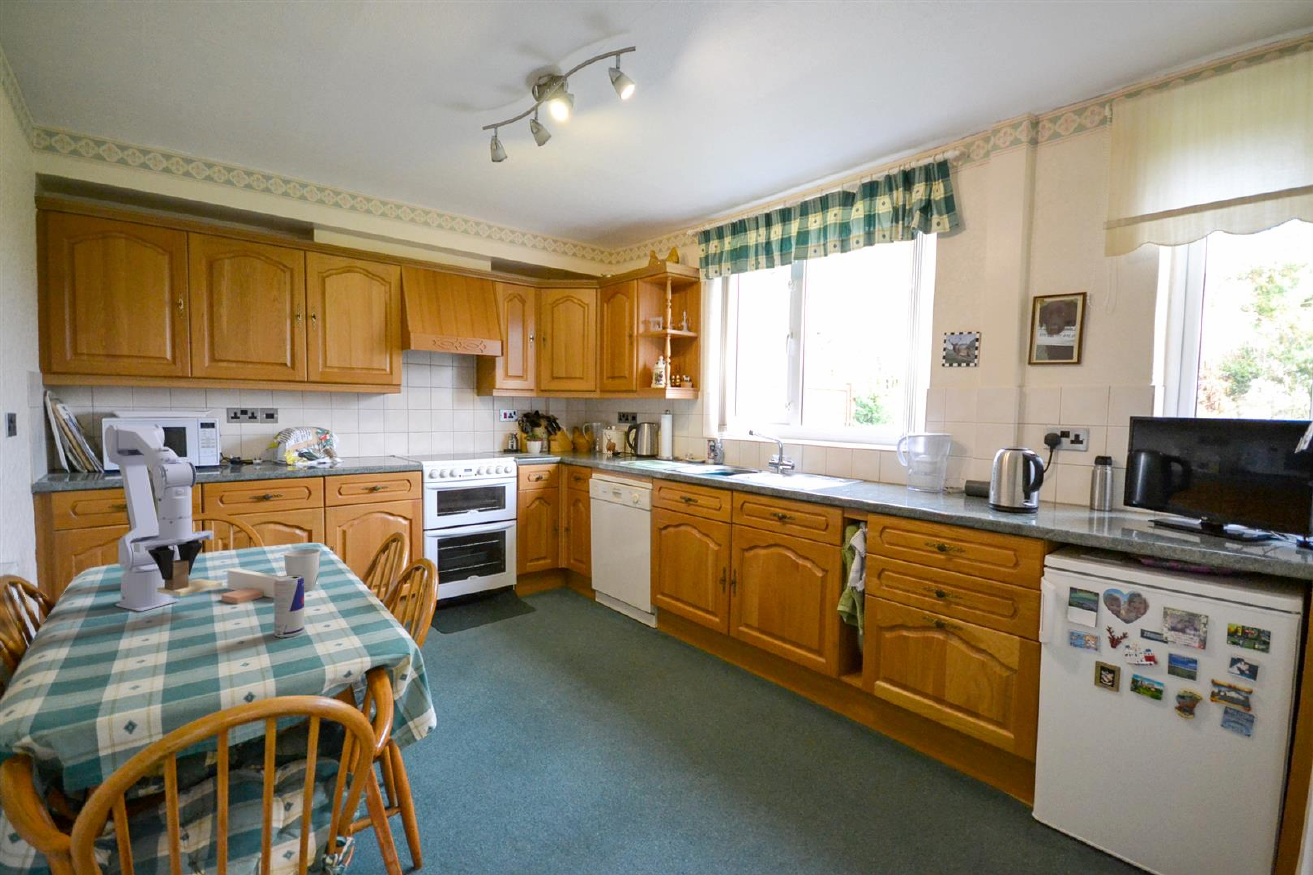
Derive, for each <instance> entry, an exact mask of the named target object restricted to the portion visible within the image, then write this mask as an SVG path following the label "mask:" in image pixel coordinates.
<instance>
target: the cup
mask: <svg viewBox="0 0 1313 875" xmlns="http://www.w3.org/2000/svg"><path fill="white" fill-rule="evenodd" d="M283 555H284V567H285V575H292V574H299V575H303V578H304V593H305V592H306V593H307V592H310V591H312V590H314V589H315V588H316V583H317V581H318V578H319V572H320V563H321V549H320V548H313V547H312V548H310V547H309V548H299V549H292V550H288V551H286V552H285V553H284V554H283Z"/></svg>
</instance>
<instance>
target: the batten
mask: <svg viewBox="0 0 1313 875" xmlns="http://www.w3.org/2000/svg"><path fill="white" fill-rule="evenodd" d="M226 571H227V574H226V575H227V590H231V591H236V590H240V589H244V588H251V589H256V590H261V591H263V597H267V598H270V599H274V582H275V579H276V578H278V577H280V576H281V575H275V574H270V573H264V572H258V571H254V570H248V569H247V570H246V569H240V568H231V569H228V570H226Z"/></svg>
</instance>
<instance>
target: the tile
mask: <svg viewBox="0 0 1313 875" xmlns="http://www.w3.org/2000/svg"><path fill="white" fill-rule="evenodd" d="M263 597H264V596H263V591H261V590H256V589H251V588H244V589H240V590H236V591H235V590H232V591H230V592H226V593H222V594H221V601H222V602H225V603H230V604H235V605H240V604H243V603H247V602H250V601H254V600H257V599H260V598H263Z"/></svg>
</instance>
